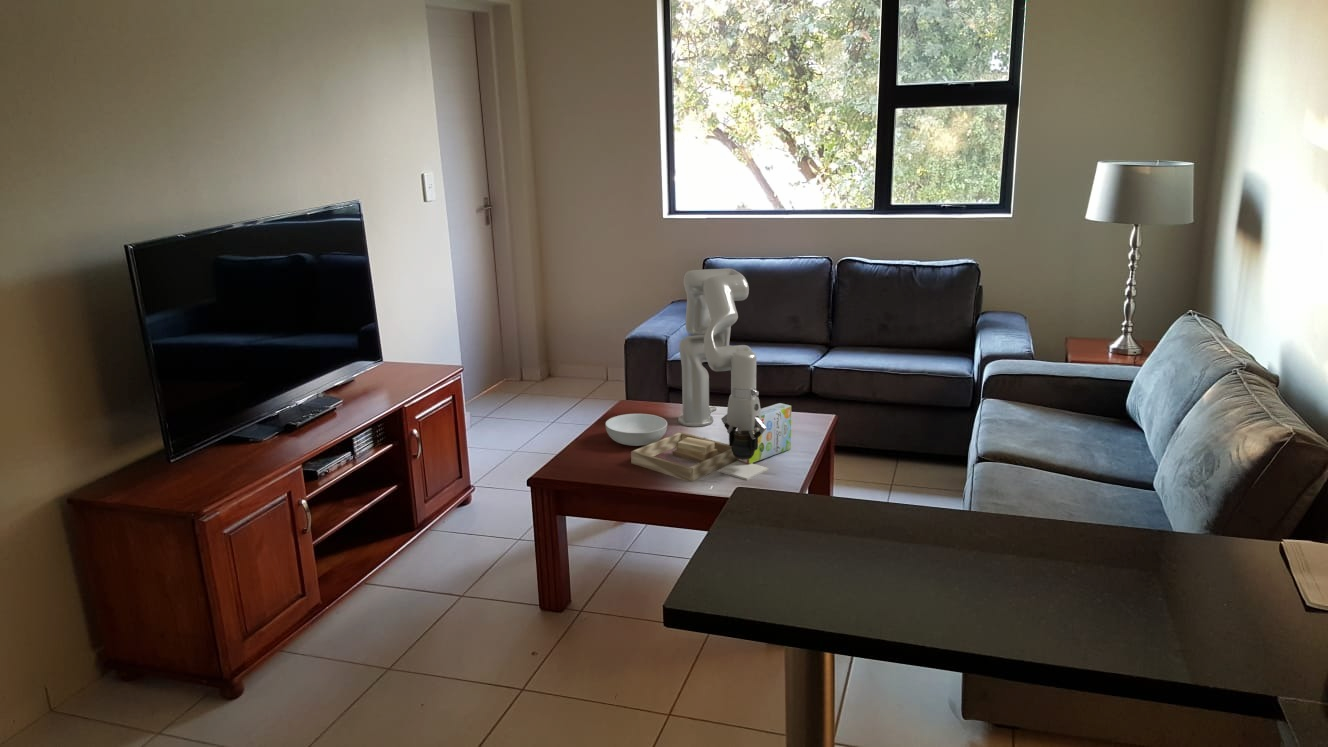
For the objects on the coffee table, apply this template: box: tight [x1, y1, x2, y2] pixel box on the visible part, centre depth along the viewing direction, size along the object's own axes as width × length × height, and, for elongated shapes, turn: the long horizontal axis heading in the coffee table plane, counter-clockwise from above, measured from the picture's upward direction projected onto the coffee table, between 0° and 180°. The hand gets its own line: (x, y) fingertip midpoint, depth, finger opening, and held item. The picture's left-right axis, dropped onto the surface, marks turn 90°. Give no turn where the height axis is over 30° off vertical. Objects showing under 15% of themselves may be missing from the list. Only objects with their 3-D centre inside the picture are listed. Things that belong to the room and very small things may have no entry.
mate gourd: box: [731, 429, 755, 460], centre depth 276 cm, size 7×8×10 cm
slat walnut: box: [672, 449, 704, 464], centre depth 291 cm, size 7×14×2 cm, turn 48°
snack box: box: [736, 402, 792, 464], centre depth 289 cm, size 21×6×15 cm, turn 135°
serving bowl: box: [604, 413, 668, 447], centre depth 305 cm, size 21×21×7 cm
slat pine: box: [678, 437, 715, 453], centre depth 290 cm, size 6×10×2 cm, turn 58°
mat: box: [717, 461, 769, 481], centre depth 278 cm, size 11×11×1 cm
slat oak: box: [675, 446, 718, 461], centre depth 290 cm, size 6×12×2 cm, turn 46°
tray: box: [630, 431, 737, 483], centre depth 286 cm, size 24×24×4 cm
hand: (743, 447), depth 276 cm, fingers closed on mate gourd, 7 cm apart
